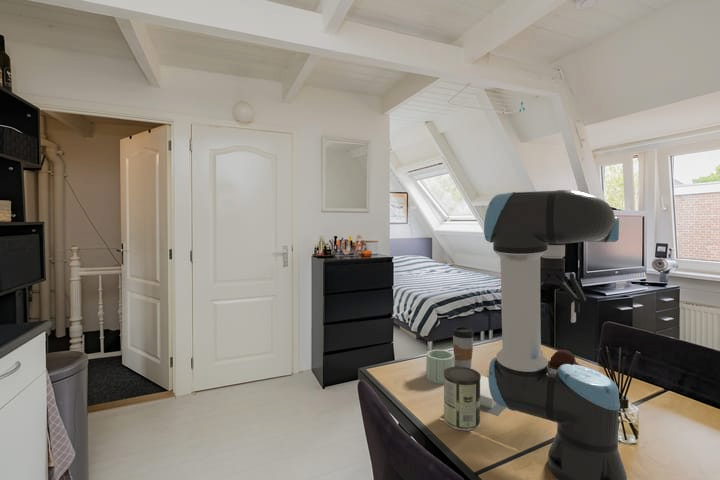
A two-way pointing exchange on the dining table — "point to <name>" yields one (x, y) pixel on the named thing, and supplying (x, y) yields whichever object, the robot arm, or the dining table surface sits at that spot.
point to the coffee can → (462, 398)
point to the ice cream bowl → (561, 359)
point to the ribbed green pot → (438, 364)
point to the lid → (486, 393)
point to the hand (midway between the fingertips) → (551, 318)
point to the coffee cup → (463, 346)
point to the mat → (493, 409)
